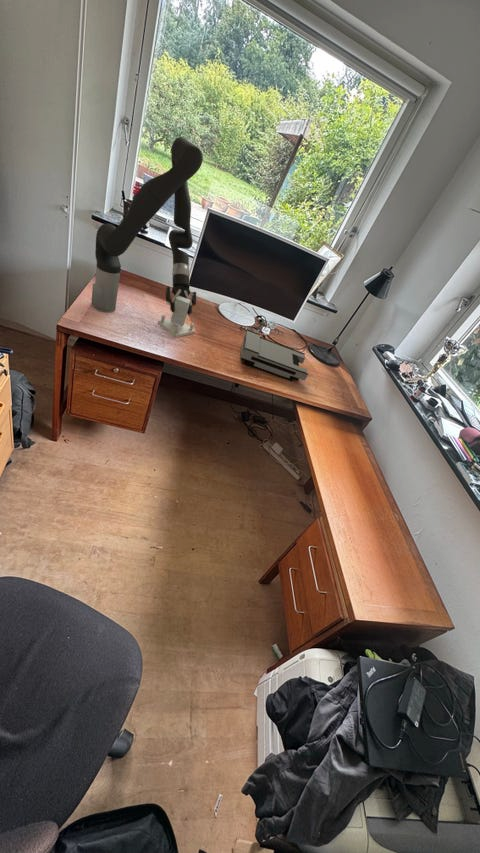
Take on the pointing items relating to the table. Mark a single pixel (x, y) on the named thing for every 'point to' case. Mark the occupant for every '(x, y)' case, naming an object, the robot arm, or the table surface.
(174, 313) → the skincare box
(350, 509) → the table surface
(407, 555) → the table surface
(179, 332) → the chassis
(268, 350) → the grey slotted box
